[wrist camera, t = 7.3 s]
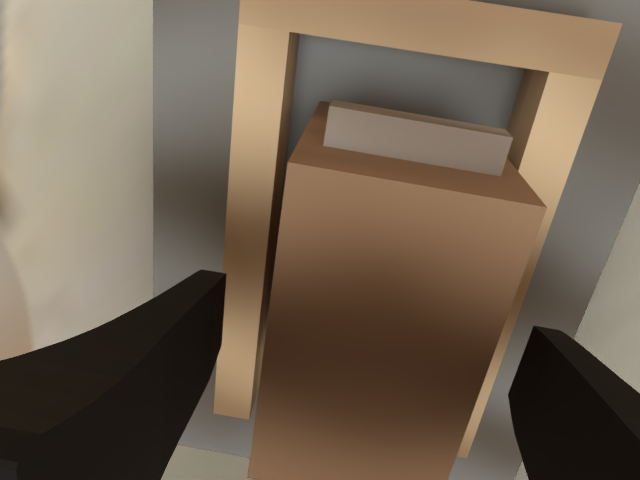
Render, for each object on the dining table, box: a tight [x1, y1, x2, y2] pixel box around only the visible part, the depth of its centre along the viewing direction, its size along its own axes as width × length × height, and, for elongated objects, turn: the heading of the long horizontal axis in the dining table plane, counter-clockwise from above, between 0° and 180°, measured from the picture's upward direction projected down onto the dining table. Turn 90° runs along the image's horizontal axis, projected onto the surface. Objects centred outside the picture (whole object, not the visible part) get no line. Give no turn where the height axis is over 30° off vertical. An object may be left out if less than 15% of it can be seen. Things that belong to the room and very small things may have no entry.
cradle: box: [153, 0, 640, 480], centre depth 16 cm, size 20×14×3 cm
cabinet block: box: [247, 100, 547, 480], centre depth 13 cm, size 9×5×6 cm, turn 172°
